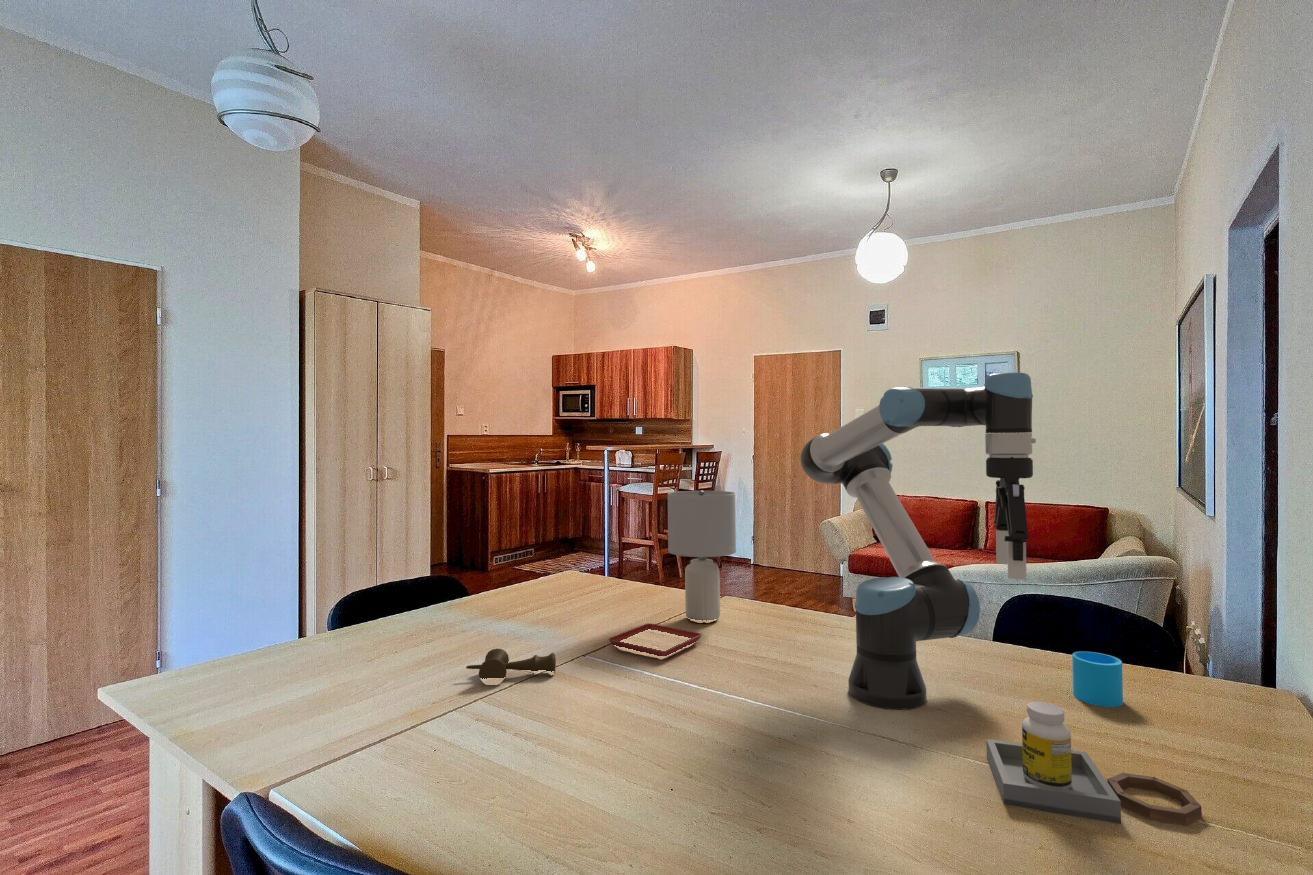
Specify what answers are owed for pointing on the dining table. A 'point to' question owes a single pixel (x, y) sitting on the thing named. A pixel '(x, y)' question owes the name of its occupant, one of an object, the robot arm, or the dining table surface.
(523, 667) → the kendama
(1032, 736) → the pill bottle
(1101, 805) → the tray
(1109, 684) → the mug
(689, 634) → the plant saucer
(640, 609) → the dining table surface
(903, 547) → the robot arm
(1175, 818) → the collar socket
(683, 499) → the lamp
